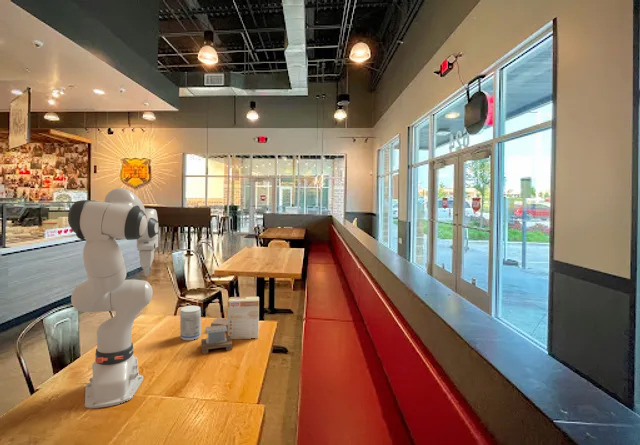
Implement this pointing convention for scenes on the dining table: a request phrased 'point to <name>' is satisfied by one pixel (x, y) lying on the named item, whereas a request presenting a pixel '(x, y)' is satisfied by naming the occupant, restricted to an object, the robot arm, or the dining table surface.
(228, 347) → the stand
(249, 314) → the coffeecake box
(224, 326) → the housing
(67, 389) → the dining table surface
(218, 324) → the brick
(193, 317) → the supplement tub
